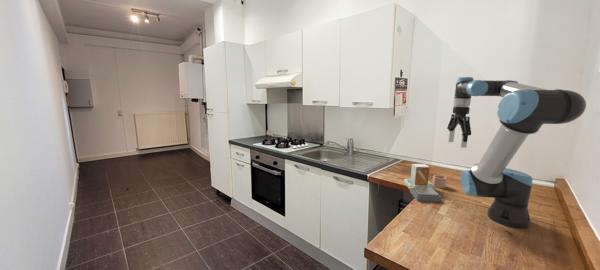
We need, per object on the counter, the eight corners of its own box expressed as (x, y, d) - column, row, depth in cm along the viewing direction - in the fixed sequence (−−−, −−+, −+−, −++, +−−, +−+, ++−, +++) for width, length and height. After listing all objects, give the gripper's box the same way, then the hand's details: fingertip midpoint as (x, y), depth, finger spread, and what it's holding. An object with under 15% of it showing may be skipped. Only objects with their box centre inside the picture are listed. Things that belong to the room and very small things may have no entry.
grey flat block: (440, 201, 131) (441, 195, 130) (416, 200, 132) (416, 194, 131) (431, 192, 142) (431, 186, 142) (408, 191, 144) (409, 185, 143)
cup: (447, 188, 148) (448, 179, 147) (435, 188, 149) (436, 178, 148) (442, 184, 155) (443, 175, 154) (430, 183, 156) (431, 174, 155)
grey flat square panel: (438, 195, 131) (438, 194, 131) (418, 194, 132) (419, 193, 132) (430, 188, 141) (430, 186, 141) (412, 187, 142) (412, 185, 142)
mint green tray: (434, 190, 146) (434, 186, 145) (409, 189, 147) (409, 185, 146) (426, 183, 156) (426, 179, 156) (403, 182, 158) (404, 178, 157)
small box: (414, 187, 148) (416, 166, 146) (409, 183, 154) (411, 163, 152) (427, 187, 148) (430, 167, 146) (422, 183, 154) (424, 163, 152)
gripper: (483, 108, 120) (477, 150, 124) (456, 105, 145) (452, 140, 149) (467, 108, 121) (461, 149, 125) (443, 104, 146) (439, 139, 150)
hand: (456, 144), depth 137 cm, fingers open, 13 cm apart
